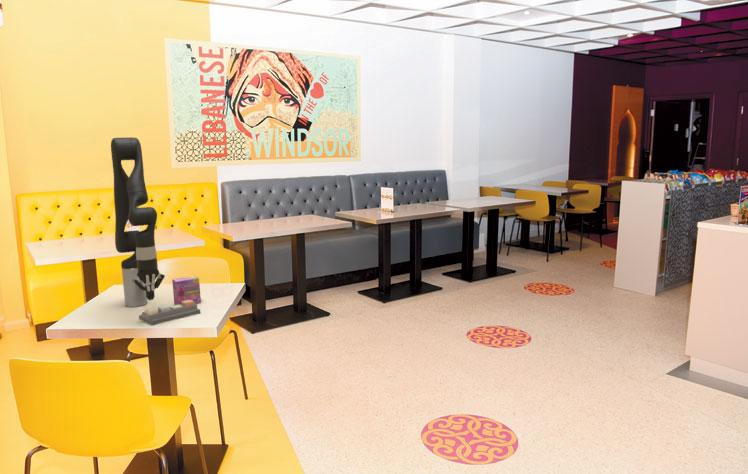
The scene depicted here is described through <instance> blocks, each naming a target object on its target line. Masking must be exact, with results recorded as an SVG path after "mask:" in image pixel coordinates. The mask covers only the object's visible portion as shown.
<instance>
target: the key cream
mask: <svg viewBox="0 0 748 474" xmlns="http://www.w3.org/2000/svg"><path fill="white" fill-rule="evenodd" d="M144 312H145V314H147V315H153V314H157V313H158V309H157V307H152V308H147V309H144Z"/></svg>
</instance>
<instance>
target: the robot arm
mask: <svg viewBox="0 0 748 474" xmlns="http://www.w3.org/2000/svg"><path fill="white" fill-rule="evenodd" d="M110 142H111V143H110V151H111V152H110V155H111V161H112V162H111V163H112V170H113V202H114V214H115V215H114V216H115V229H114V230H115V233H114V244H115V245H114V246H115V249H116V251H117V252H118V253H120V254H122V253H123V254H124V253H133V254H132V255H131V256H129V257H128V258H125V259H123V260H122V261H121V263H120V265H121V276H122V284H123V285H122V286H123V296H124V306H125V307H128V308H134V307H136V308H137V307H141V306H144V305H147V304H148V301H153V300H154V299H155V290H156V289H158V288H159V287H160V285H161V284H162V282H163V281H164V279H165V277H166V276H165V274H163V273H160V270H159V269H158V268H159V267H158V253H157V250H156V249H157V247H156V242H155V241H156V240H155V230H156V224H157V220H158V212H157V210H156V208H155V207H152V206H147V207H146V206H145V207H143V206H144V205H145V204H147V203H148V202H149V196H148V192H147V187H146V182H145V174H144V173H145V171H144V162H143V160H144V159H143V150H142V146H141V142H140V140H139V138H137V137H113V138H111V141H110ZM122 161H134V165H133V168H132V171H131V173H130V174H129V175H128V174H127V173H126V171H125V170H124V167H123V165H122ZM141 206H142V207H141ZM128 222H129V224H130V225H132V226H134V227H141V226H147V227H146V228H145V229H143V230H141V231H140V230H127V231H126V226H127V224H128Z"/></svg>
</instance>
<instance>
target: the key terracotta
mask: <svg viewBox="0 0 748 474" xmlns="http://www.w3.org/2000/svg"><path fill="white" fill-rule="evenodd" d="M181 304H182V306H184V307H187V306H191V305H194V301H192V300H186V301H181Z"/></svg>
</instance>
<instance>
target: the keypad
mask: <svg viewBox="0 0 748 474" xmlns="http://www.w3.org/2000/svg"><path fill="white" fill-rule="evenodd" d="M179 305H181V306H182V304H179ZM182 307H183V308H178V309H174V310H173V309H171V308H170V309H171V310H170V311H166V312H159V311H158V313H157V314H153V315H147V314H145V311H144V312H142V313H141V314H139V315H138V319H139V320H141V321H143V323H146V324H148V325H150V326H154V325H158V324H162V323H166V322H171V321H174V320H179V319H182V318H187V317H191V316H194V315H200V314H201V309H200V308H198V303H197V304H195V303H194V305H191V306H187V307H184V306H182Z"/></svg>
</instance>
